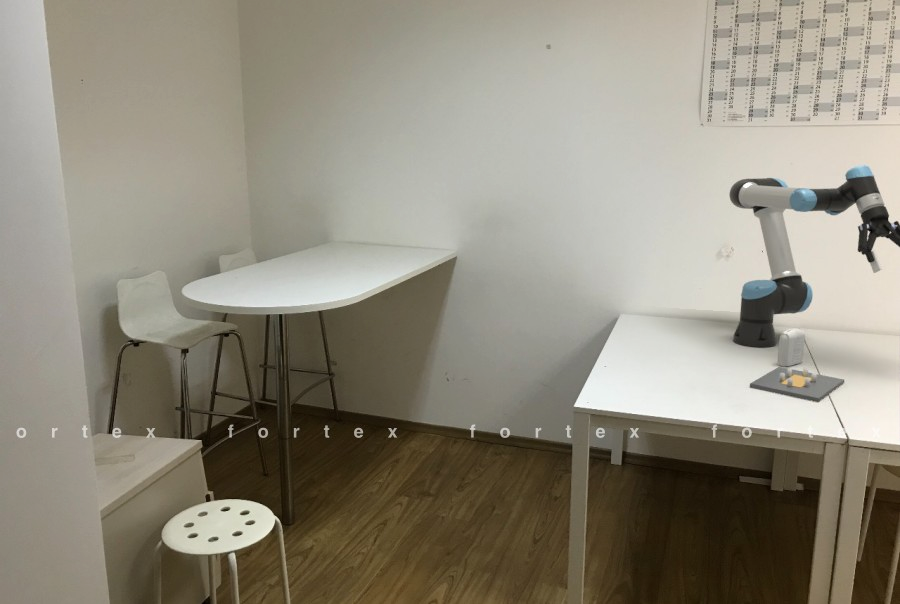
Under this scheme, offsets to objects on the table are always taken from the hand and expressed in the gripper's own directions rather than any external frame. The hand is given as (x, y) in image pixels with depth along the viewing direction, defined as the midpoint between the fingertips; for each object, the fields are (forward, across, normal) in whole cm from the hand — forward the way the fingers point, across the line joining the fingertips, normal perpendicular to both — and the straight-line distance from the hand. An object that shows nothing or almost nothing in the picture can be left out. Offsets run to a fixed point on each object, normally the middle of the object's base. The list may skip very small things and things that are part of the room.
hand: (895, 270), depth 230 cm
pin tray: (+29, -34, +17) cm, 48 cm away
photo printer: (+19, -21, +34) cm, 45 cm away
